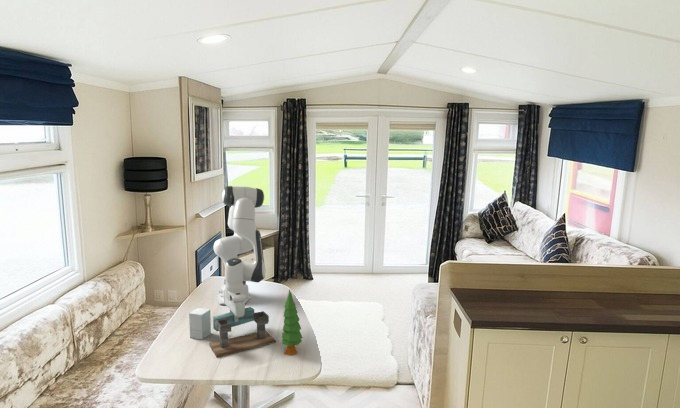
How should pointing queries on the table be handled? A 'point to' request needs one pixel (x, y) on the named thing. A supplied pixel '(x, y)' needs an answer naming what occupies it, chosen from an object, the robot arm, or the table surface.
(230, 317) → the teal rail
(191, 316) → the supplement box
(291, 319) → the decorative tree
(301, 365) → the table surface
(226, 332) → the bracket stand
